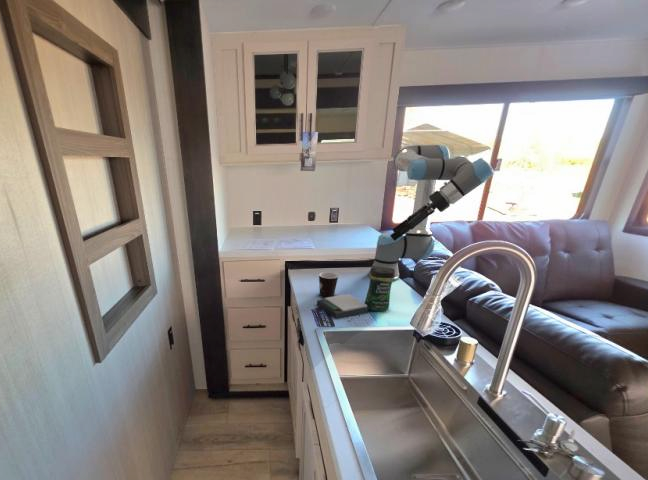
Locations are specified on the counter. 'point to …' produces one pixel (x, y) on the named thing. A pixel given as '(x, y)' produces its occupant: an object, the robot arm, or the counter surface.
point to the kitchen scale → (342, 306)
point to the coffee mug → (327, 284)
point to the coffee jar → (379, 288)
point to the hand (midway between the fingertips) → (393, 235)
